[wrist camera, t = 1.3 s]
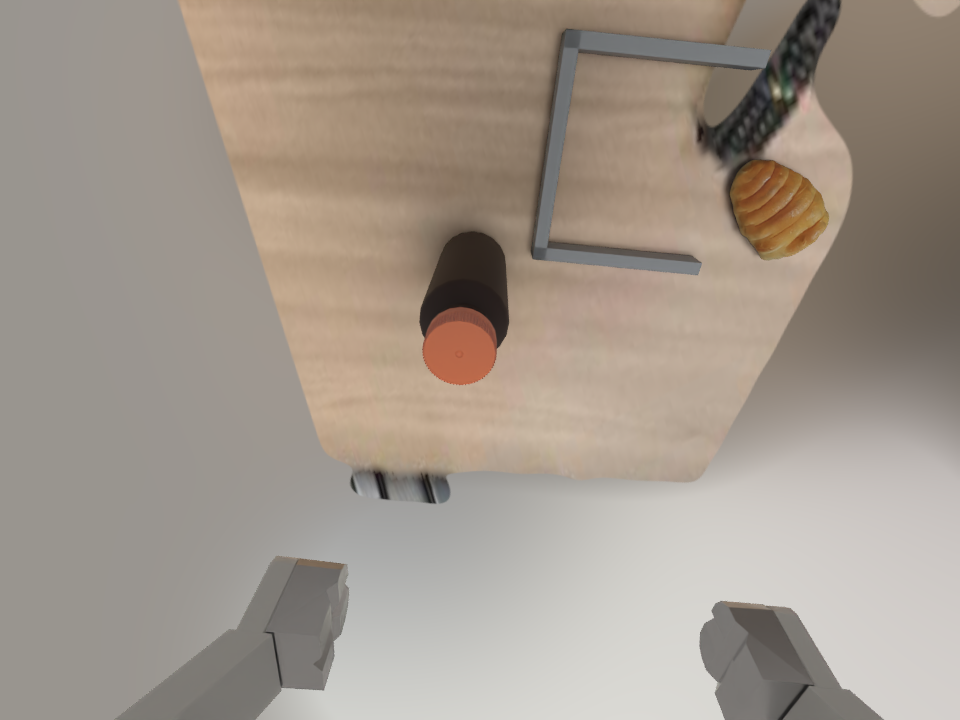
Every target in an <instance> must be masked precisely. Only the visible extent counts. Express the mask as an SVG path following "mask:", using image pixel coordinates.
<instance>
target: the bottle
mask: <svg viewBox="0 0 960 720" xmlns="http://www.w3.org/2000/svg"><path fill="white" fill-rule="evenodd" d="M508 325H509V312H508V295H507V278H506V263H505V256H504V254H503V252H502V249H501V247H500V246H499V245H498V244H497V243H496V242H495V241H494V240H493V239H492V238H491V237H489V236H487V235H485V234H483V233H477V232H467V233H461V234H460V235H458V236H456V237H454V238H452V239H451V240H450V241H449V242H448V243H447V244H446V245H445V247H444V249H443V251H442V253H441V256H440V258H439V261H438V264H437V266H436V269H435V272H434V274H433V277H432V280H431V282H430V285H429V288H428V290H427V293H426V296H425V298H424V301H423V304H422V306H421V312H420V326H421V330H422V334H423V336H424V337H425V340H424V343H423V349H422V350H423V352H422V353H423V356H424V357H423V358H425V359H424V361H425V364H427V366H428V369H430V371H431V372H432V373H433V374H434V375H436V377H438V378H439V379H441V380H443V381H444V382H445V381H446V382H447V383H450V384H451V383H452V384H453V385H454V384H456V385H457V384H459V385H463V384H465V385H466V384H470V383H471V384H472V383H473V382H474V383H475V381H477V382H478V380H480V379H481V378H482V379H483V377H485V375H487V373H489V371H491V368H493V366H494V363H495V360H496V355H497V348H498V347H499V346H500V345H501V343H502V342H503V340H504V338H505V337H506V334H507V329H508Z"/></svg>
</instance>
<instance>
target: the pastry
mask: <svg viewBox="0 0 960 720" xmlns="http://www.w3.org/2000/svg"><path fill="white" fill-rule="evenodd" d="M730 197H731V199H732V204H733V212H734V214H735V217H736V222H737V223H738V225H739V229H740V232H741V234H742V235H743V236H745V237H747V238H748V240H749V241H750V243H751V244H752V245H753V247H754V248H755V249H756V250H757V251H758V253H759V256H760V258H761V259H763V260H772V259H780V258H782V257H788V256H792V255H794V254H796V253H798V252H799V251H801V250H803V249H805V248H806V247H808V246H809V245H810V244H812V243H813V242H815V241H816V240H817V238H818V237H819V235H820V234H822V233H823V232H824V230H825V229H826V227H827V225H828V220H829V215H828V212H827V211H826V209H825V207H824V201H823V199H822V196H821V194H820V193H819V192H818V191H817V190H816V189H815V188H814V187H813V185H812V184H811V182H810V181H809V180H808V179H807V178H804V177H803V176H802V175H801V174H799V173H796V172H794V171H793V170H791V169H789V168H786V167H784V166H783V165H780V164H778V163H776V162H775V161H773V160H752V161H749V162H748V163H747V164H746V165H744V166H743V167H742V168H741V169H740V170H739V171H738V173H737V174H736V176H735V178H734V180H733V183H732V187H731V190H730Z"/></svg>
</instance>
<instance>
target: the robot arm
mask: <svg viewBox="0 0 960 720" xmlns="http://www.w3.org/2000/svg"><path fill="white" fill-rule="evenodd" d="M347 576H348V568H347V564H341V563H333V562H325V561H317V560H307V559H301V558H292V557H282V556H276V557H275V559H274V560H273V561H272V562H271V563H270V565H269V567H268V569H267V571H266V573H265V574H264V576H263V578H262V581H261V582H260V584H259V586H258V588H257V590H256V592H255V594H254V596H253V598H252V600H251V602H250V604H249V606H248V608H247V610H246V612H245V614H244V616H243V618H242V620H241V622H240V624H239V626H238V628H237V630H231V629H229V630H228V631H226V632H225V633H224V634H223V635H221V636H220V637H219V638H218V639H216V640H215V641H214V642H212V643H211V644H210V645H209V646H207V647H206V648H205V649H204V650H202V651H201V652H200V653H198V654H197V655H196V656H195V657H193V658H192V659H191V660H190V661H188V662H187V663H186V664H184V665H183V666H182V667H181V668H179V669H178V670H177V671H176V672H174V673H173V674H172V675H170V676H169V677H168V678H167V679H165V680H164V681H163V682H162V683H161V684H159V685H158V686H157V687H155V688H154V689H153V690H151V691H150V692H149V693H148V694H146V695H145V696H144V697H143V698H141V699H140V700H139V701H138V702H136V703H135V704H134V705H132V706H131V707H130V708H129V709H127V710H126V711H125V712H124V713H122V714H121V715H120V716H118V717H117V718H116V719H115V720H255V719H256V718H257V717H258V716H259V715H260V714H261V713H262V712H263V710H264V709H265V708H266V707H267V706H268V705H269V704H270V703H271V702H272V700H273V699H274V698H275V697H276V696H277V695H278V694H279V693H280V692H281V688H295V689H312V690H324V688H325V685H326V682H327V679H328V675H329V672H330V669H331V666H332V662H333V659H334V640H336V639H337V638H338V637H339V636H340V635H341V632H342V629H343V625H344V622H345V618H346V612H347V608H348V598H349V588H348V587H347V586H346V585H345V582H346V579H347ZM712 613H713V615H714V619H712V620H710V621H708V622H706V623H705V624H704V626H703V628H702V630H701V632H700V650H701V656H702V659H703V662H704V665H705V668H706V670H707V671H708V672H709V673H710V675H711V676H712V677H713V678H714V679H715V680H716V681H717V682H718V683H717V687H716V691H715V695H716V697H717V700H718V703H719V705H720V708H721V710H722V713H723V716H724V718H725V720H884V719H882V718H881V717H880V716H879V715H878V714H877V713H875V712H874V711H873V710H872V709H871V708H870V707H868V706H867V705H866V704H865V703H864V702H863V701H861V700H860V699H859V698H858V697H857V696H856V695H855V694H853V693H852V692H851V691H850V690H846V689H842V688H841V686H840V685H839V683H838V682H837V680H836V678H835V676H834V675H833V673H832V671H831V670H830V668H829V666H828V665H827V663H826V661H825V660H824V658H823V656H822V655H821V653H820V652H819V650H818V648H817V647H816V645H815V644H814V642H813V640H812V638H811V637H810V635H809V634H808V632H807V630H806V629H805V627H804V625H803V623H802V622H801V620H800V618H799V617H798V615H797V614H796V613H795V612H794V611H793V610H792V609H791V608H786V607H777V606H765V605H763V604H750V603H739V602H727V601H720V602H718V603H716V604H715V606H714V607H713V609H712Z"/></svg>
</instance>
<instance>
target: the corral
mask: <svg viewBox="0 0 960 720" xmlns="http://www.w3.org/2000/svg"><path fill="white" fill-rule="evenodd" d="M578 52H579V53H589V54H598V55H608V56H618V57H627V58H637V59H647V60H656V61H666V62H675V63H685V64H695V65H704V66H714V67H724V68H733V69H743V70H756V69H763V68H766V65H767V62H768V58H769V55H770V52H771V50H764V49H755V48H745V47H735V46H726V45H716V44H707V43H697V42H688V41H678V40H669V39H659V38H649V37H640V36H630V35H621V34H611V33H602V32H592V31H582V30H573V29H566V30H565V31H564V32H563V33H562V40H561V47H560V54H559V61H558V68H557V75H556V82H555V89H554V96H553V103H552V110H551V117H550V124H549V131H548V138H547V145H546V152H545V159H544V166H543V173H542V180H541V187H540V194H539V200H538V207H537V214H536V221H535V228H534V235H533V242H532V249H531V254H532V258H533V259H536V260H546V261H557V262H567V263H577V264H587V265H598V266H608V267H618V268H629V269H639V270H649V271H660V272H670V273H680V274H691V275H698V274H699V271H700V268H701V265H702V263H701V262H700V261H698V260H697V259H696V258H694V257H693V256H688V255H678V254H668V253H657V252H647V251H637V250H627V249H616V248H606V247H596V246H586V245H575V244H565V243H555V242H548V239H549V233H550V226H551V220H552V214H553V208H554V201H555V195H556V189H557V182H558V176H559V170H560V164H561V157H562V151H563V145H564V139H565V132H566V126H567V120H568V113H569V107H570V101H571V95H572V88H573V82H574V76H575V70H576V63H577V57H578Z"/></svg>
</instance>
